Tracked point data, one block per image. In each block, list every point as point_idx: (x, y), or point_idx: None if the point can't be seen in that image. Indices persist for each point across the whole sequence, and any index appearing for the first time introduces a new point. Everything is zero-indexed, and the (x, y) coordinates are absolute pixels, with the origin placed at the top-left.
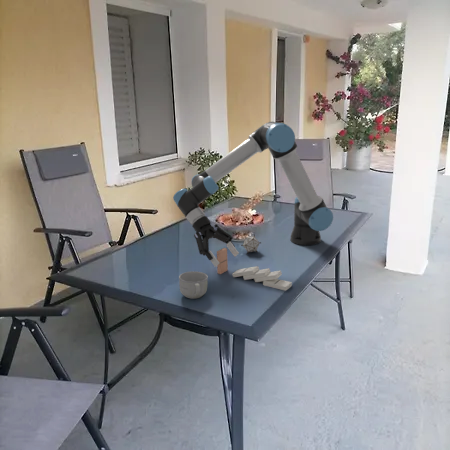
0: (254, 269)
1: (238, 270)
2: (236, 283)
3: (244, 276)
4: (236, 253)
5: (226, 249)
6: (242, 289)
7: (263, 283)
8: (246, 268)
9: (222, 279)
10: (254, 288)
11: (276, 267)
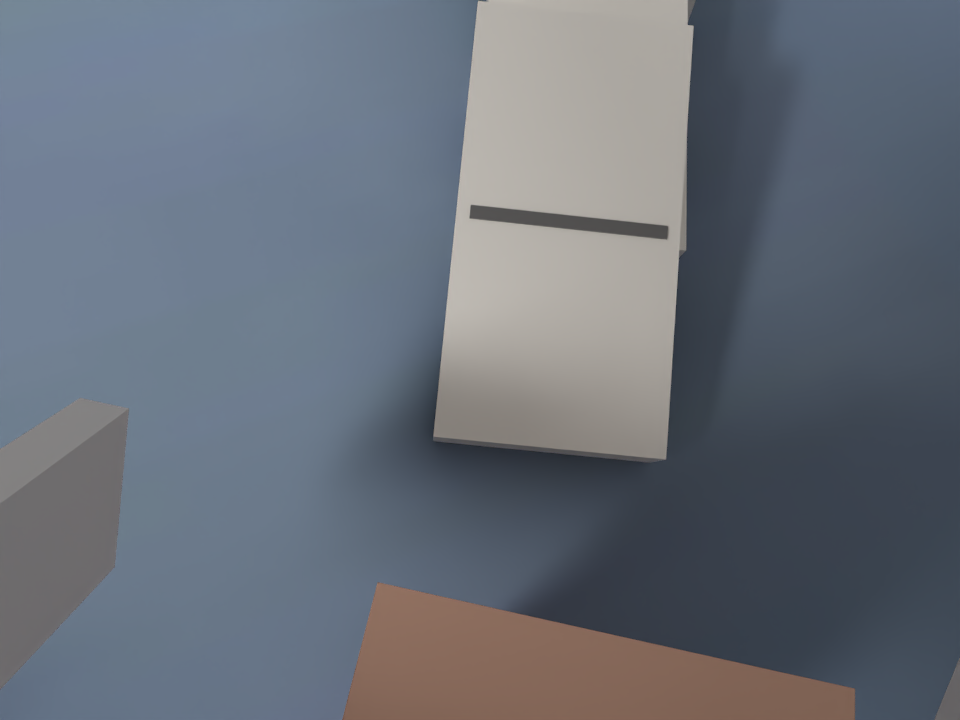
0: (621, 22)
1: (512, 390)
2: (828, 332)
3: (683, 228)
4: (104, 467)
5: (416, 596)
6: (943, 199)
7: (690, 8)
8: (484, 228)
9: (824, 608)
10: (827, 88)
11: (34, 21)
